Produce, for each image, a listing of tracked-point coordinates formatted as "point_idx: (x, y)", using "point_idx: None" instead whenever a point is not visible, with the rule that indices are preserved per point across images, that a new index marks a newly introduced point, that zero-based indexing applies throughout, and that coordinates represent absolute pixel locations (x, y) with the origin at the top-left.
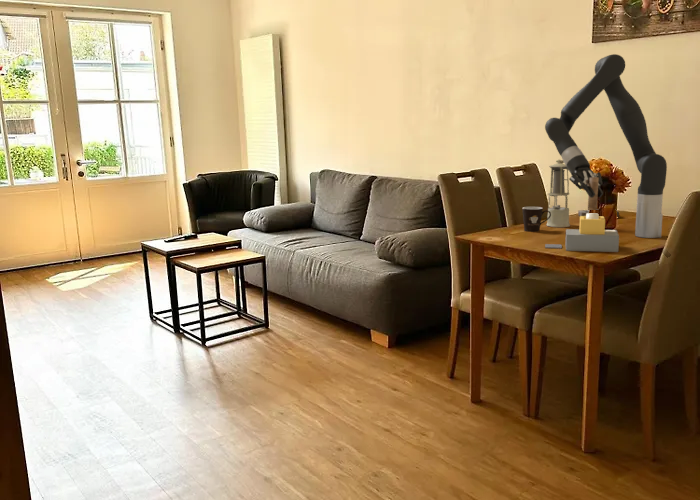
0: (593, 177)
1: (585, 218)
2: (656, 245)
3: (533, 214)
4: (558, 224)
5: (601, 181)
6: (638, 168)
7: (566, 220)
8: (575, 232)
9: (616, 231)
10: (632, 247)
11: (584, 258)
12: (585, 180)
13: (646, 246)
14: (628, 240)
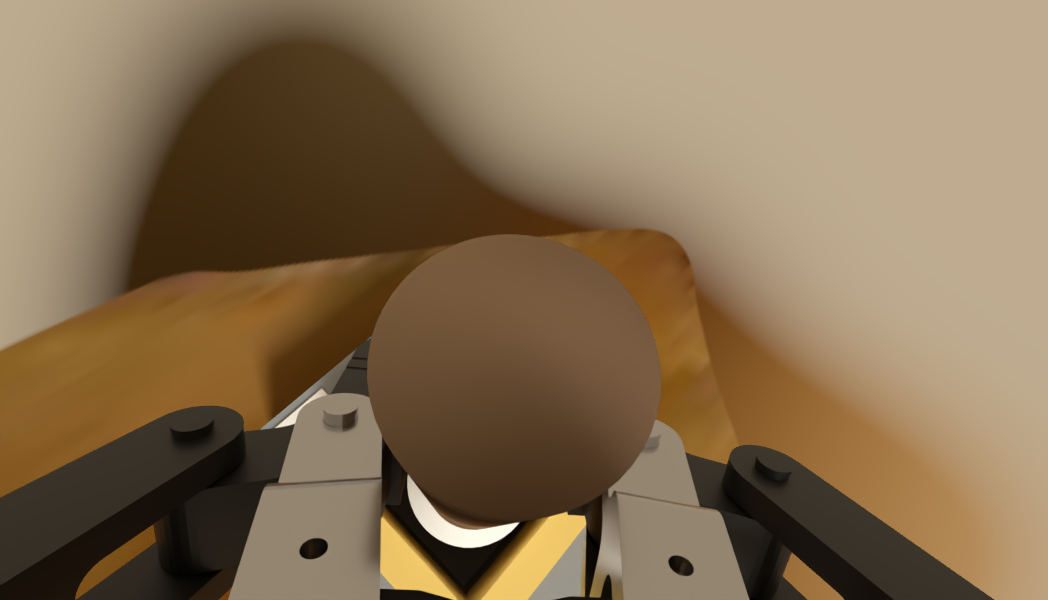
0: (514, 384)
1: (454, 592)
2: (86, 322)
3: None
4: None
5: (121, 454)
6: None
7: None
8: (570, 566)
9: (294, 403)
10: (252, 365)
11: (685, 322)
12: (711, 526)
13: (161, 337)
14: None
